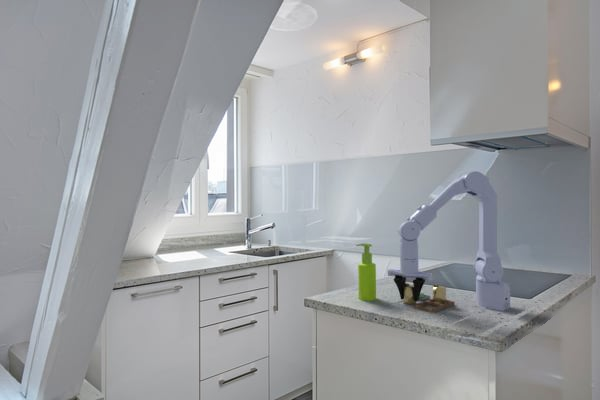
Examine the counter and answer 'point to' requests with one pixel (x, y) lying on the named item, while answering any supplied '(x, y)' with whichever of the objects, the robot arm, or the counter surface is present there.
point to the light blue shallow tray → (405, 305)
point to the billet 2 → (439, 294)
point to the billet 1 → (408, 294)
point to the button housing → (424, 298)
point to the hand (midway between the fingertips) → (409, 299)
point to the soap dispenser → (367, 275)
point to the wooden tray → (433, 305)
